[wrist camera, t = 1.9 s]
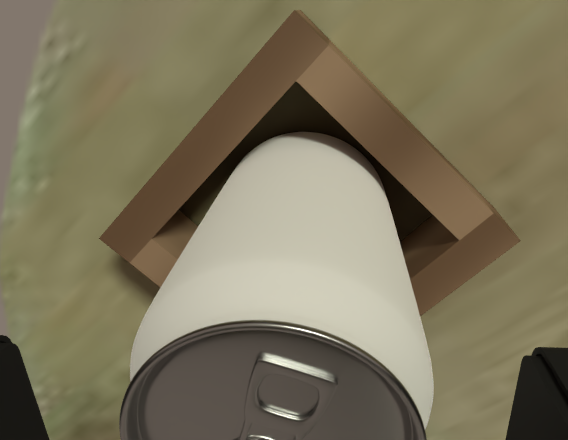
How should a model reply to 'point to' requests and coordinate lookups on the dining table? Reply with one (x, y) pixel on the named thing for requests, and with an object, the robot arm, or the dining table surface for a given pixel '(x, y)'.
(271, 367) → the can
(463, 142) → the dining table surface
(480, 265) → the brown square frame
